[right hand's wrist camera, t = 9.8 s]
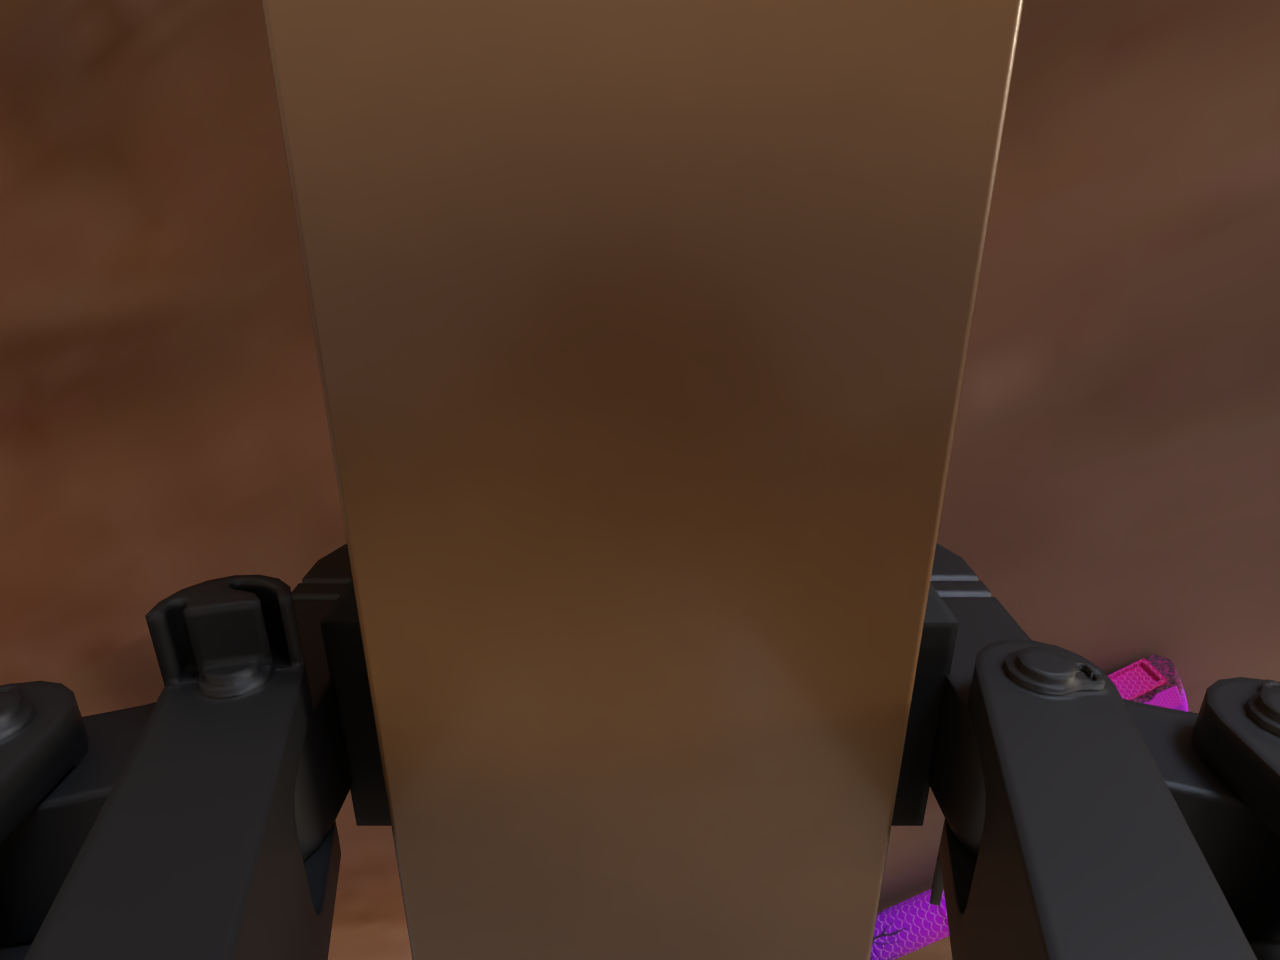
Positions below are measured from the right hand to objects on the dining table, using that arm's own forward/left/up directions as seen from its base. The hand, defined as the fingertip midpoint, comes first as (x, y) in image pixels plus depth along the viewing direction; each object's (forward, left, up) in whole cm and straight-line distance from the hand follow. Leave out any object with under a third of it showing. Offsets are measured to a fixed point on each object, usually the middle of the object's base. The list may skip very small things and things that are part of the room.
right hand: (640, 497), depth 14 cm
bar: (+8, +1, -1) cm, 8 cm away
